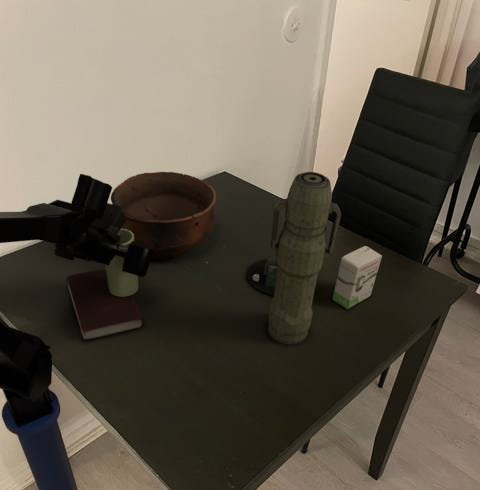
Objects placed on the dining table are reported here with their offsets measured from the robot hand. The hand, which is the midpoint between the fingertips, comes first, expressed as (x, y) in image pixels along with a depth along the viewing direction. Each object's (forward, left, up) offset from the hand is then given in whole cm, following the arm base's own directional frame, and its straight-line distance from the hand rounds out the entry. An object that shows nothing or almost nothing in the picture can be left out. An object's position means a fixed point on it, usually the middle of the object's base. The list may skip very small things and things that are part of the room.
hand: (124, 259), depth 107 cm
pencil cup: (-1, -1, -7) cm, 7 cm away
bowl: (+17, +13, -10) cm, 24 cm away
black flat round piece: (+34, -12, -10) cm, 37 cm away
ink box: (+44, -27, -10) cm, 52 cm away
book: (-6, -1, -10) cm, 12 cm away
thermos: (+24, -28, -10) cm, 38 cm away
